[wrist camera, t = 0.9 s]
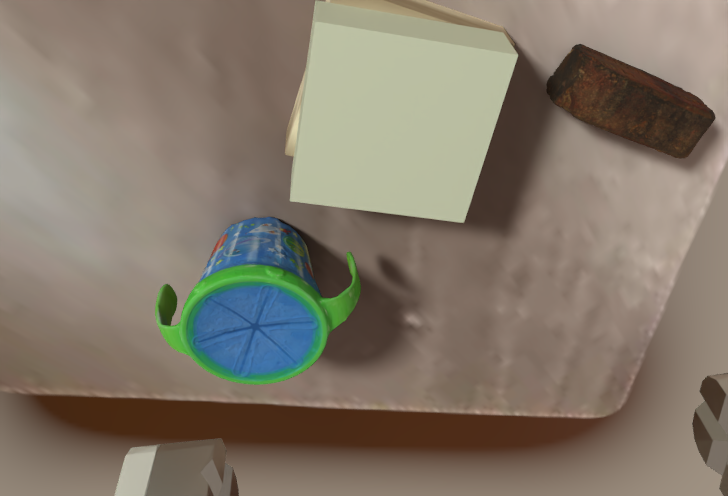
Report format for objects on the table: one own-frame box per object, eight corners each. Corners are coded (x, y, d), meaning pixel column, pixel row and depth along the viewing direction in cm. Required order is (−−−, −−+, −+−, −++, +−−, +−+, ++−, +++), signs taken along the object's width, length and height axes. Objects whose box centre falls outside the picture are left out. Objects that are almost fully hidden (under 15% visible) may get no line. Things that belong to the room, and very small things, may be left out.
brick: (691, 88, 50) (721, 115, 46) (658, 134, 52) (685, 163, 48) (570, 36, 47) (592, 61, 43) (540, 87, 49) (559, 114, 45)
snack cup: (352, 188, 53) (359, 267, 45) (361, 291, 59) (368, 377, 51) (153, 204, 53) (124, 287, 45) (183, 306, 59) (162, 394, 51)
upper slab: (315, 0, 41) (315, 21, 38) (503, 32, 43) (518, 55, 40) (291, 170, 48) (289, 201, 45) (454, 192, 50) (463, 223, 47)
